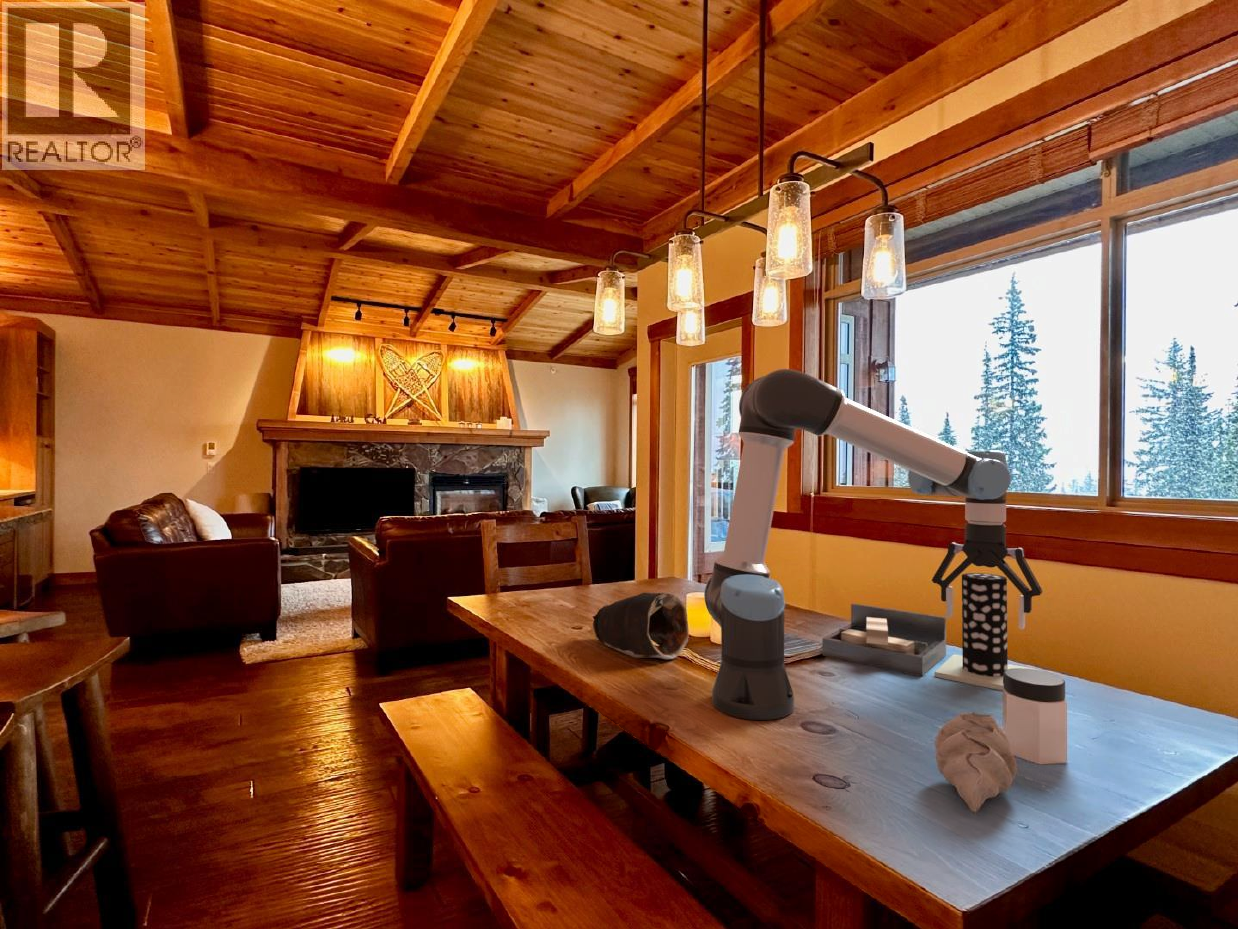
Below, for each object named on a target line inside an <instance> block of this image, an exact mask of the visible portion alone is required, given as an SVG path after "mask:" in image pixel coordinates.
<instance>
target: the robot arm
mask: <svg viewBox="0 0 1238 929" xmlns="http://www.w3.org/2000/svg"><path fill="white" fill-rule="evenodd" d="M738 409H739V410H738V411H739V416H740V421H739V422H740V423H739V428H738V433H737V434H738V436H739V437H740V440H742V443H743V447H742V451H741V457H740V461H739V462H740V463H739V468H738V471H737V472H738V473H737V478H736V484H735V489H734V496H733V499H732V501H733V502H732V506H731V509H730V510H731V511H730V516H729V517H730V518H729V522H728V527H727V532H726V538H725V543H724V550H723V553H722V554H721V555H720V556H719V557H717V558H715V559H714V563H713V568H712V574H711V576H710V577H709V579H708V580H707V582H706V584H705V587H704V603H705V607H706V609H707V612H708V614H709V615H710V616H711V617H712V619H713V620H714V621H715V622H716V623H717V624H718V626H719V627H720V630H721V631H720V637H721V638H720V640H721V644H720V645H721V646H720V649H721V650H720V651H721V658H720V660H721V661H720V665H719V668H718V671H717V674H716V677H715V681H714V684H713V687H712V690H711V698H712V699H711V701H712V705H713V707H714V708H715V709H717V711H720V712H722V713H723V714H725V715H728V716H731V717H734V718H739V719H744V720H754V721H769V720H778V719H781V718H785V717H787V716H788V715H791V714H792V713H793V712H794V710H795V695H794V691H793V688H792V685H791V682H790V679H789V675H788V673H787V670H786V667H785V610H786V599H785V593H784V589H783V587H782V585H781V584H780V583H779V582H778V581H777V580H775V579H773V578H770V573H771V571H770V569H769V567H768V566H767V564H766V562H765V560H766V554H767V548H768V543H769V538H770V533H771V527H772V521H773V517H774V510H775V505H776V500H777V495H778V490H779V484H780V479H781V473H782V469H783V468H782V467H783V462H784V456H785V451H786V450H787V449H788V448H790V447H791V446H792V445H794V443H795V437H796V432H797V430H801V431H805V432H808V433H811V434H813V435H815V436H817V437H822V436H824V435H829V436H831V437H833V438H836V439H838V440H840V441H842V442H844V443H847V444H850V445H851V446H854V447H856V448H858V449H860V450H863V451H864V452H867V453H869V454H872V455H873V456H876V457H878V458H881V459H883V460H885V461H888V462H889V463H892V464H894V465H896V466H898V467H901V468H903V469H906V470H907V471H908V474H907V475H908V479H907V480H908V485H909V487H910V490H911V491H912V492H913V493H914V494H916V495H926V496H933V495H934V496H946V497H947V496H949V497H956V498H957V497H958V498H959V497H960V498H965V504H964V505H965V508H964V509H965V511H964V513H965V514H964V519H965V521H967V522H966V523H965V524H964V544H961V543H960V544H959V543H957V542H955V541H953V542H950V543H948V546H947V553H946V555H945V556H944V558H943V560H942V561H941V563H940V565H939V566H938V569H937V570H936V571H935V574H934V575H933V577H932V579H931V582H932V583H933V584H935V585H936V584H937V585H939V586H940V600H941V601H942V602H944V603H945V617H946V619H951V618H952V617H953V616H954V586H952V585H950V584H951V583H953V582H954V581H955V580H956V578H958V577H959V576H960V575H962V573H963V572H964V571H965V570H966V569H967V568H969V567H970V566H971V565H974V566H976V567H987V568H996V567H997V568H998V569H999V571H1001V572H1002V573H1003V574H1004V575H1005V577H1006V578H1007V580H1009V581H1010V582H1011V583H1012V585H1013V586H1014V587H1015V588H1016V589H1017V591H1019V592H1020V594H1021V595H1020V596H1019V597H1018V629H1019V630H1024V629H1025V628H1026V614H1030V613H1031V612H1032V605H1033V604H1032V603H1033V601H1032V598H1033V597H1037V596H1038V597H1039V596H1041V595H1042V594H1043V589H1042V588H1041V586H1040V584H1039V582H1038V580H1037V578H1036V576H1035V574H1034V573H1033V572H1034V571H1032V569H1031V567H1030V565H1029V564H1028V562H1027V560H1026V557H1025V550H1024V548H1022V547H1018V548H1008V546H1007V526H1006V525H1005V524H1004V523H1005V522H1006V521H1007V491H1008V490H1009V488H1010V485H1011V482H1012V481H1011V480H1012V479H1011V478H1012V477H1011V472H1010V470H1009V468H1008V466H1007V465H1008V464H1007V458H1006V454H1005V452H1004V451H1001V450H968V451H964V450H961V449H959V448H958V447H956V446H955V447H954V446H953V445H951V444H949V443H946V442H944V441H942V440H939V439H937V438H935V437H933V436H930V435H928V434H926V433H924V432H922V431H919V430H918V429H916V428H913V427H911V426H909V425H906V424H905V423H902V422H901V421H897V420H896V419H893V418H891V417H889V416H886V415H885V414H882V413H880V412H877V411H875V410H874V409H871V408H869V407H866V406H864V405H862V404H860V403H859V402H855V401H853V400H851V399H849V398H847V397H846V395H845V392H844V391H843V389H841V388H839V387H836V386H833V385H831V384H829V383H827V382H825V381H823V380H821V379H819V378H817V377H814V376H812V375H810V374H807V373H806V372H805V373H804V372H802V371H801V370H800V371H799V370H796V369H790V368H783V369H777V370H773V371H772V372H770V373H768V374H766V375H763V376H761V377H757V378H756V379H754V380H753V381H752V382H750V383H749V384H748V386H746V388H745V389H744V390H743V392H742V394H741V395H740V399H739V403H738ZM960 551H962V552H963V553H964V555H965V556H966V558H965V559H964V560H962V562H961V563H960V564H959V565H958V566H957V567H956V568H955V569H954V570H953V571H952V572H951V573H949V575H947V576H946V577H945V578H944V579H943V577H944V575H945V574H946V572H947V570H948V568H949V567H950V565H951V563H952V561H953V560H954V559H955V557H956V554H960ZM1008 555H1010V556H1011V558H1012V559H1014V560H1016V563H1017V565H1018V567H1019V569H1020V570H1021V572H1022V575H1023V577H1024V578H1025V580H1026V582H1027V583H1028V586H1029V587H1028V586H1027V585H1026V584H1025V583H1024V581H1023V580H1022V579H1021V578H1020V577H1019V576H1018V575H1017V573H1016V572H1015V571H1014V569H1012V568H1011V566H1010V565H1009V564H1008V563H1007V562H1006V561H1005V558H1006V557H1007V556H1008Z"/></svg>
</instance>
